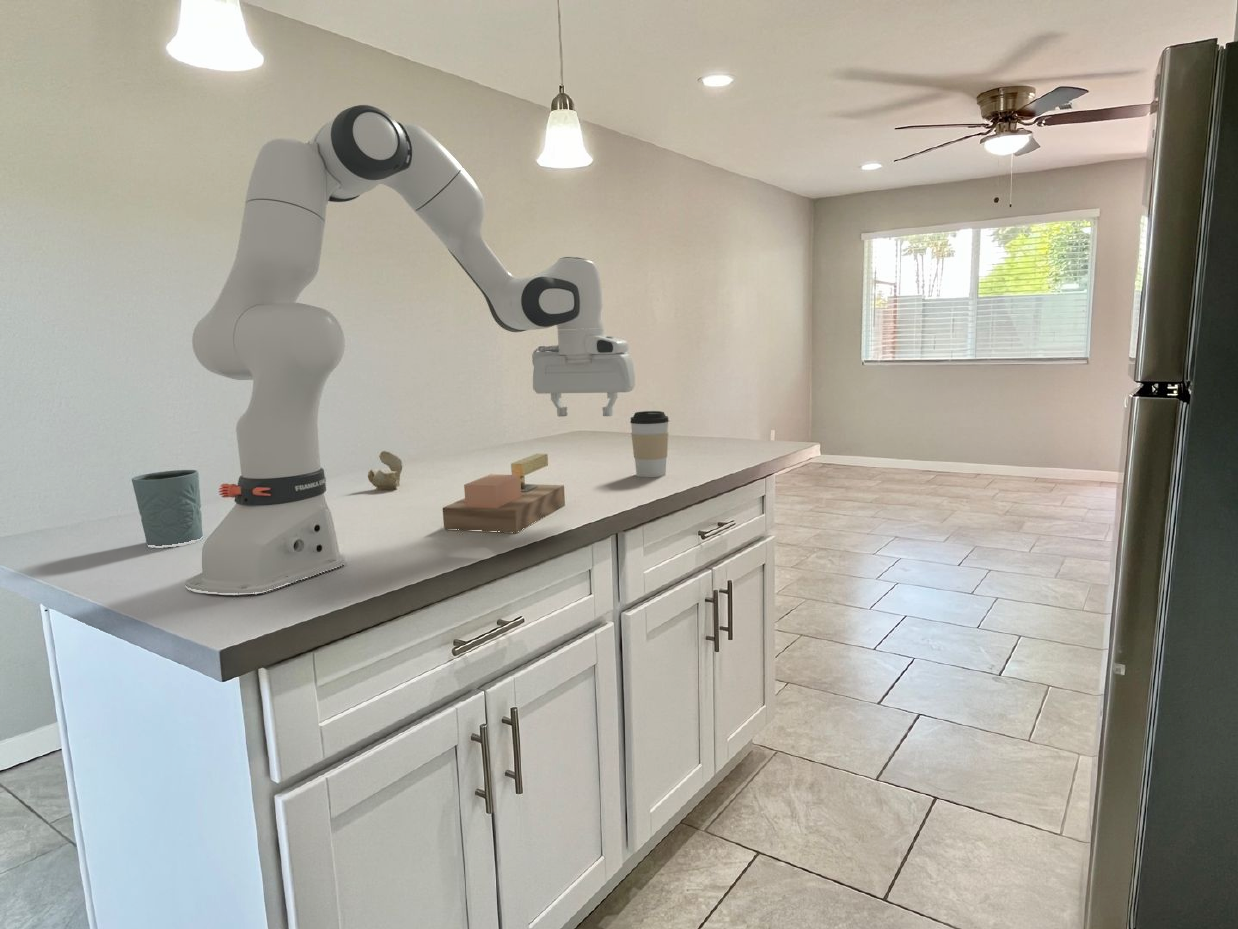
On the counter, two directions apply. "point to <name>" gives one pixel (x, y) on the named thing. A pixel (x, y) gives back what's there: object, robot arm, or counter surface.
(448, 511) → the base
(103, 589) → the counter surface
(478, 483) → the salmon orange block
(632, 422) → the coffee cup
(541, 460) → the yellow lever handle
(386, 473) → the tan squirrel figurine
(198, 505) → the green embossed plant pot
